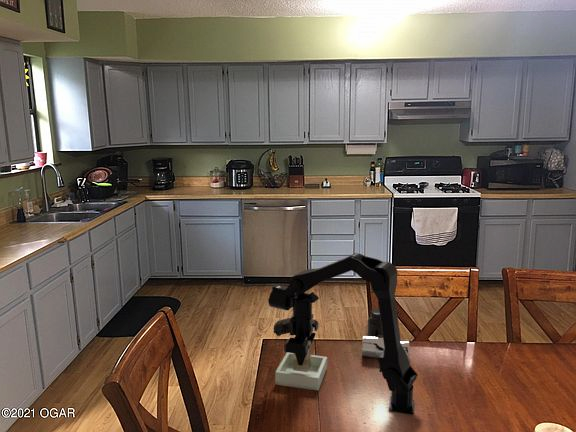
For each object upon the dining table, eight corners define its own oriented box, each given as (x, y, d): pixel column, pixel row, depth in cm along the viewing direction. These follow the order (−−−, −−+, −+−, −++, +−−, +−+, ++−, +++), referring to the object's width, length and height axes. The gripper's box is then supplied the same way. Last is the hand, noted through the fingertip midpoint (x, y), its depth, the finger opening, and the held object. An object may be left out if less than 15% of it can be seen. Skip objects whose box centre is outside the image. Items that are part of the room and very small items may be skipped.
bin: (318, 390, 139) (318, 378, 139) (275, 384, 143) (275, 372, 142) (326, 368, 152) (327, 356, 151) (287, 363, 155) (287, 351, 154)
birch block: (307, 372, 144) (307, 347, 142) (293, 370, 145) (293, 345, 144) (310, 364, 148) (311, 340, 147) (296, 363, 149) (296, 339, 148)
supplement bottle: (381, 350, 164) (382, 316, 161) (363, 344, 168) (364, 312, 165) (389, 342, 169) (391, 310, 167) (372, 337, 173) (373, 306, 171)
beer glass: (408, 336, 160) (363, 331, 163) (409, 343, 153) (362, 339, 156) (407, 356, 161) (362, 351, 164) (408, 364, 154) (361, 359, 157)
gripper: (284, 299, 154) (285, 344, 157) (266, 322, 136) (267, 373, 139) (318, 302, 151) (318, 348, 154) (305, 327, 134) (305, 378, 137)
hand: (302, 361), depth 146 cm, fingers closed on birch block, 4 cm apart
